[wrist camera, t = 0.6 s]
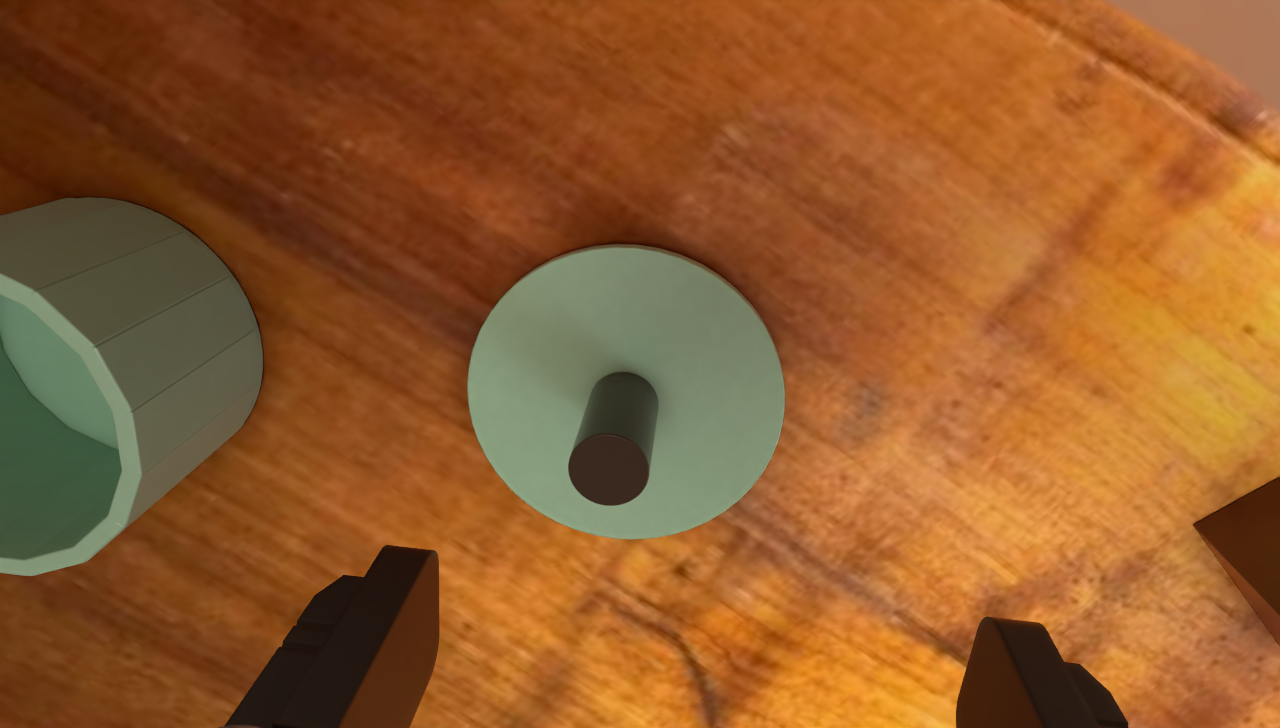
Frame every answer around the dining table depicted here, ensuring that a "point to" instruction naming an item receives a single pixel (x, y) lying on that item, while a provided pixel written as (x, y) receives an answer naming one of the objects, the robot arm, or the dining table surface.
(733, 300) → the tin lid
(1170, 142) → the dining table surface
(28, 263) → the tin
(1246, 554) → the stand
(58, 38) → the dining table surface
